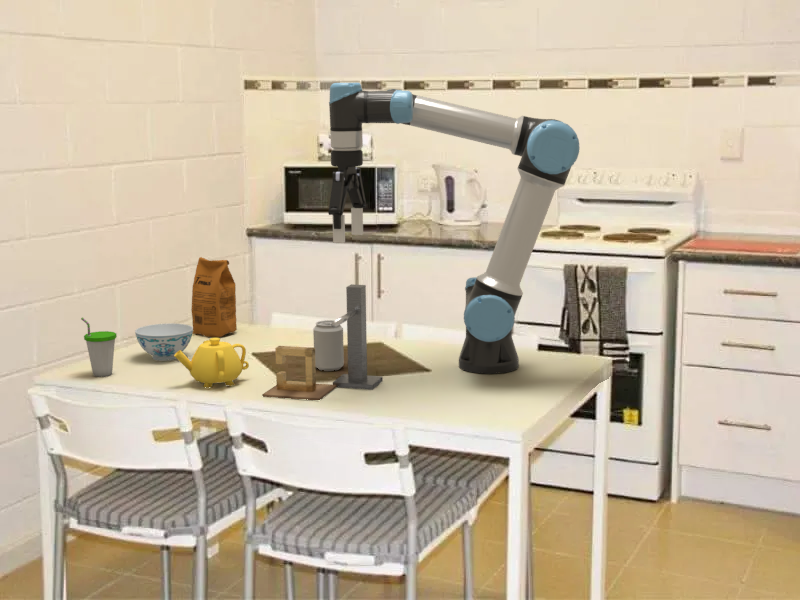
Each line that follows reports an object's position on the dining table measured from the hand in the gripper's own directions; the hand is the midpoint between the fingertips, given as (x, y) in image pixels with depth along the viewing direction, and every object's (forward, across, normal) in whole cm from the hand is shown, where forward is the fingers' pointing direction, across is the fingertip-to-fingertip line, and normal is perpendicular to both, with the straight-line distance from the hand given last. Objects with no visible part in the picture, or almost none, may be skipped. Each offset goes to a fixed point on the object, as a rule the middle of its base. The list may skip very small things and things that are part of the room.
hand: (348, 238), depth 276 cm
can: (+35, -9, -9) cm, 37 cm away
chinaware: (+35, -9, -55) cm, 66 cm away
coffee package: (+35, -39, -55) cm, 76 cm away
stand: (+35, +10, +3) cm, 36 cm away
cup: (+35, +11, -62) cm, 72 cm away
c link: (+34, +14, -9) cm, 38 cm away
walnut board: (+35, +14, -8) cm, 38 cm away
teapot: (+35, +11, -32) cm, 49 cm away
